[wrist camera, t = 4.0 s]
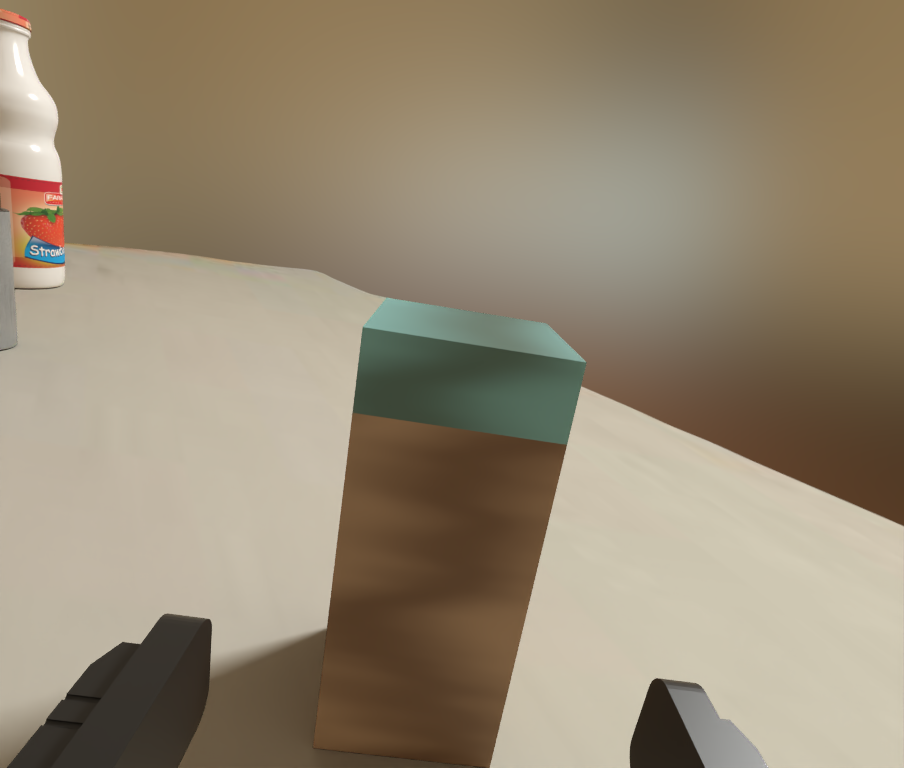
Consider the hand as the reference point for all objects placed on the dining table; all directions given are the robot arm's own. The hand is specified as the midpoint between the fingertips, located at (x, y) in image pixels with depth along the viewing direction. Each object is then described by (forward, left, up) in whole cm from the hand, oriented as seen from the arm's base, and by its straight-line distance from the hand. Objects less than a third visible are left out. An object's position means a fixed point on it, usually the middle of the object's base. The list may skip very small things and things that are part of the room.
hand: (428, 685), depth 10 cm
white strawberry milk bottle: (-50, +57, -7) cm, 76 cm away
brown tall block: (0, +6, -6) cm, 9 cm away
